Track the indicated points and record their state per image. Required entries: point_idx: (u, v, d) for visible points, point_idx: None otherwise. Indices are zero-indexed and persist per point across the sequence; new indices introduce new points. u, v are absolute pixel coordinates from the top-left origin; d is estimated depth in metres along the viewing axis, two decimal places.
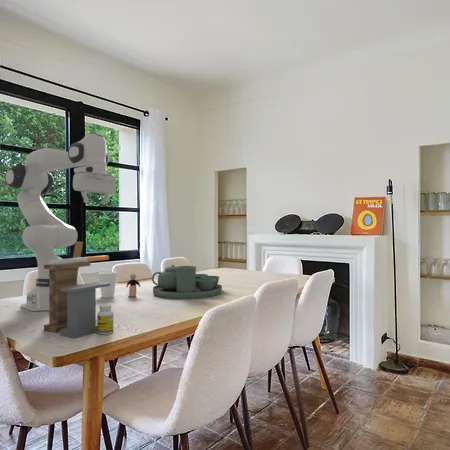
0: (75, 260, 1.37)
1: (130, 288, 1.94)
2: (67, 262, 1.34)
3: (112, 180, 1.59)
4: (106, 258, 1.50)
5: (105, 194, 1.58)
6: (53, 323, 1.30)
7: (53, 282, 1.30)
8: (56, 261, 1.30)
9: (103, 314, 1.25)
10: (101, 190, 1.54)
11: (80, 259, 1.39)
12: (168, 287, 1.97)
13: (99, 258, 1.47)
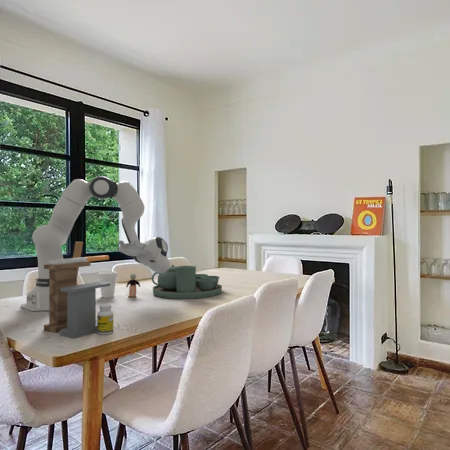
0: (75, 260, 1.37)
1: (130, 288, 1.94)
2: (67, 262, 1.34)
3: (128, 255, 1.73)
4: (106, 258, 1.50)
5: (124, 246, 1.67)
6: (53, 323, 1.30)
7: (53, 282, 1.30)
8: (56, 261, 1.30)
9: (103, 314, 1.25)
10: (131, 250, 1.66)
11: (80, 259, 1.39)
12: (168, 287, 1.97)
13: (99, 258, 1.47)
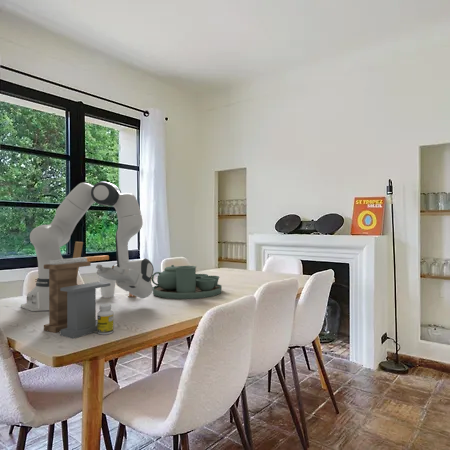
0: (75, 260, 1.37)
1: None
2: (67, 262, 1.34)
3: (107, 278, 1.62)
4: (106, 258, 1.50)
5: (103, 270, 1.57)
6: (53, 323, 1.30)
7: (53, 282, 1.30)
8: (56, 261, 1.30)
9: (103, 314, 1.25)
10: (109, 275, 1.55)
11: (80, 259, 1.39)
12: (168, 287, 1.97)
13: (99, 258, 1.47)
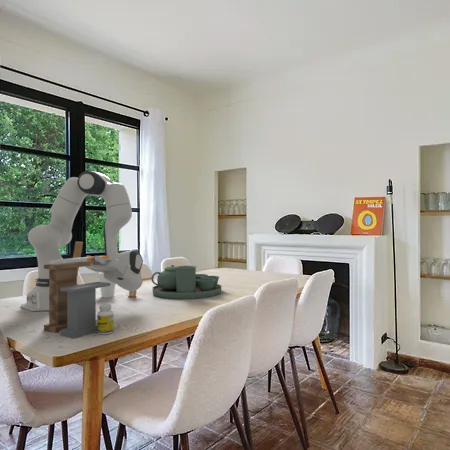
0: (75, 260, 1.37)
1: None
2: (67, 262, 1.34)
3: (94, 270, 1.56)
4: (106, 258, 1.50)
5: (93, 261, 1.49)
6: (53, 323, 1.30)
7: (53, 282, 1.30)
8: (56, 261, 1.30)
9: (103, 314, 1.25)
10: (96, 266, 1.49)
11: (80, 259, 1.39)
12: (168, 287, 1.97)
13: None
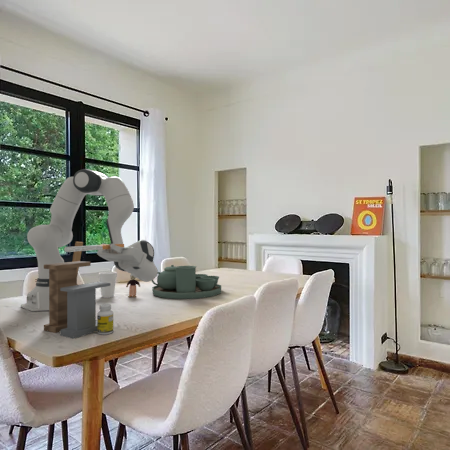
0: (90, 247, 1.30)
1: (130, 288, 1.94)
2: (82, 249, 1.27)
3: (108, 260, 1.49)
4: (121, 246, 1.43)
5: (108, 250, 1.43)
6: (53, 323, 1.30)
7: (53, 282, 1.30)
8: (71, 248, 1.23)
9: (103, 314, 1.25)
10: (111, 255, 1.43)
11: (95, 247, 1.32)
12: (168, 287, 1.97)
13: None
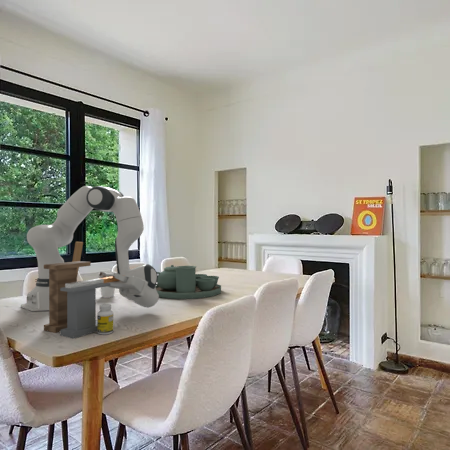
0: (91, 282, 1.30)
1: None
2: (83, 285, 1.27)
3: None
4: None
5: None
6: (53, 323, 1.30)
7: (53, 282, 1.30)
8: (72, 285, 1.23)
9: (103, 314, 1.25)
10: (112, 283, 1.42)
11: (96, 281, 1.32)
12: (168, 287, 1.97)
13: (116, 279, 1.40)
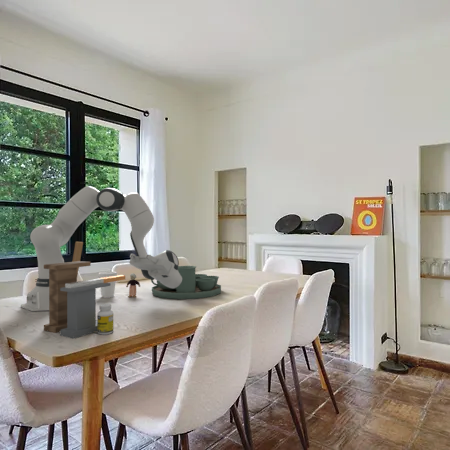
0: (91, 282, 1.30)
1: (130, 288, 1.94)
2: (83, 285, 1.27)
3: (139, 268, 1.64)
4: (122, 278, 1.43)
5: (136, 259, 1.59)
6: (53, 323, 1.30)
7: (53, 282, 1.30)
8: (72, 285, 1.23)
9: (103, 314, 1.25)
10: (142, 264, 1.57)
11: (96, 281, 1.32)
12: (167, 287, 1.97)
13: (116, 279, 1.40)
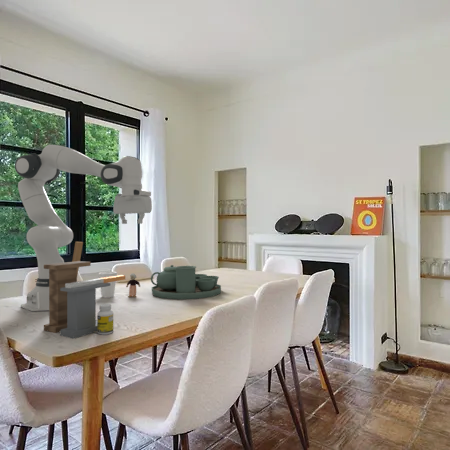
0: (91, 282, 1.30)
1: (130, 288, 1.94)
2: (83, 285, 1.27)
3: None
4: (122, 278, 1.43)
5: (123, 214, 1.62)
6: (53, 323, 1.30)
7: (53, 282, 1.30)
8: (72, 285, 1.23)
9: (103, 314, 1.25)
10: None
11: (96, 281, 1.32)
12: (167, 287, 1.97)
13: (116, 279, 1.40)
